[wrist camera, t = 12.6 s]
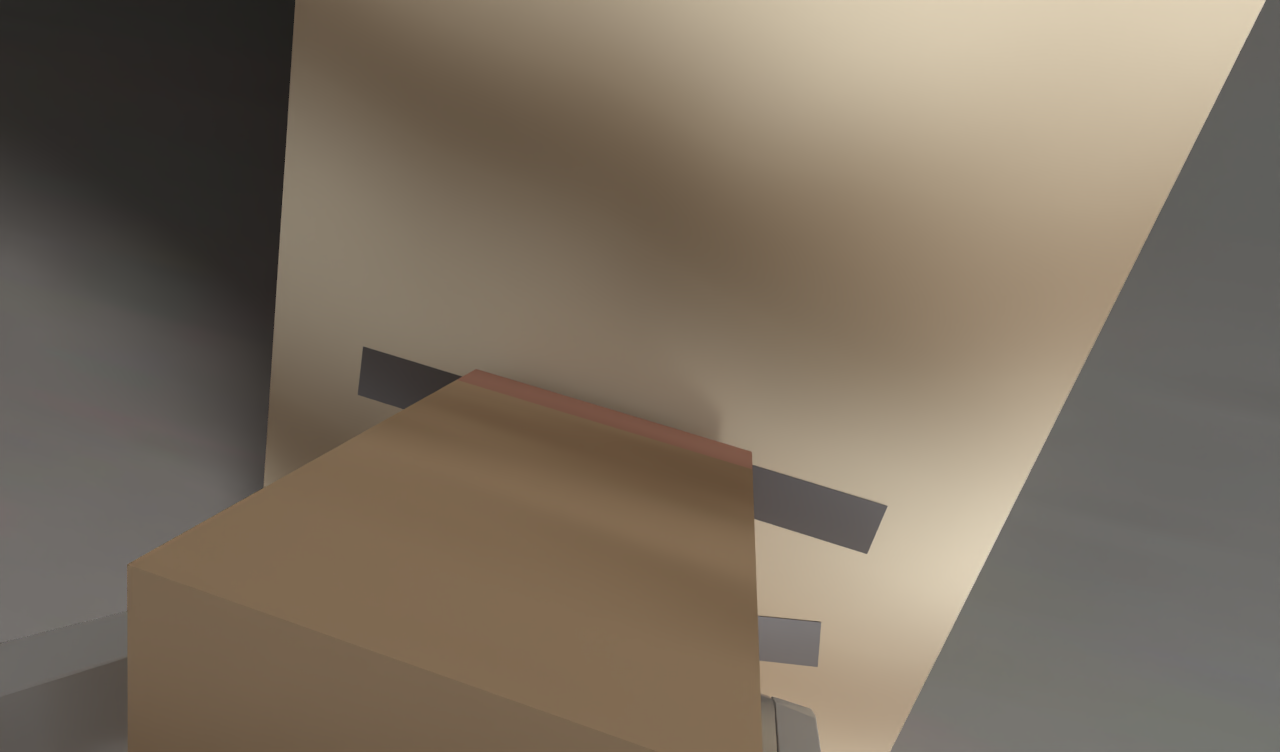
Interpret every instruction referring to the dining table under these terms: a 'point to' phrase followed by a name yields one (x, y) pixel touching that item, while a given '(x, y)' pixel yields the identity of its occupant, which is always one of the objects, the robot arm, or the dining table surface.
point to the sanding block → (463, 592)
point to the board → (746, 258)
